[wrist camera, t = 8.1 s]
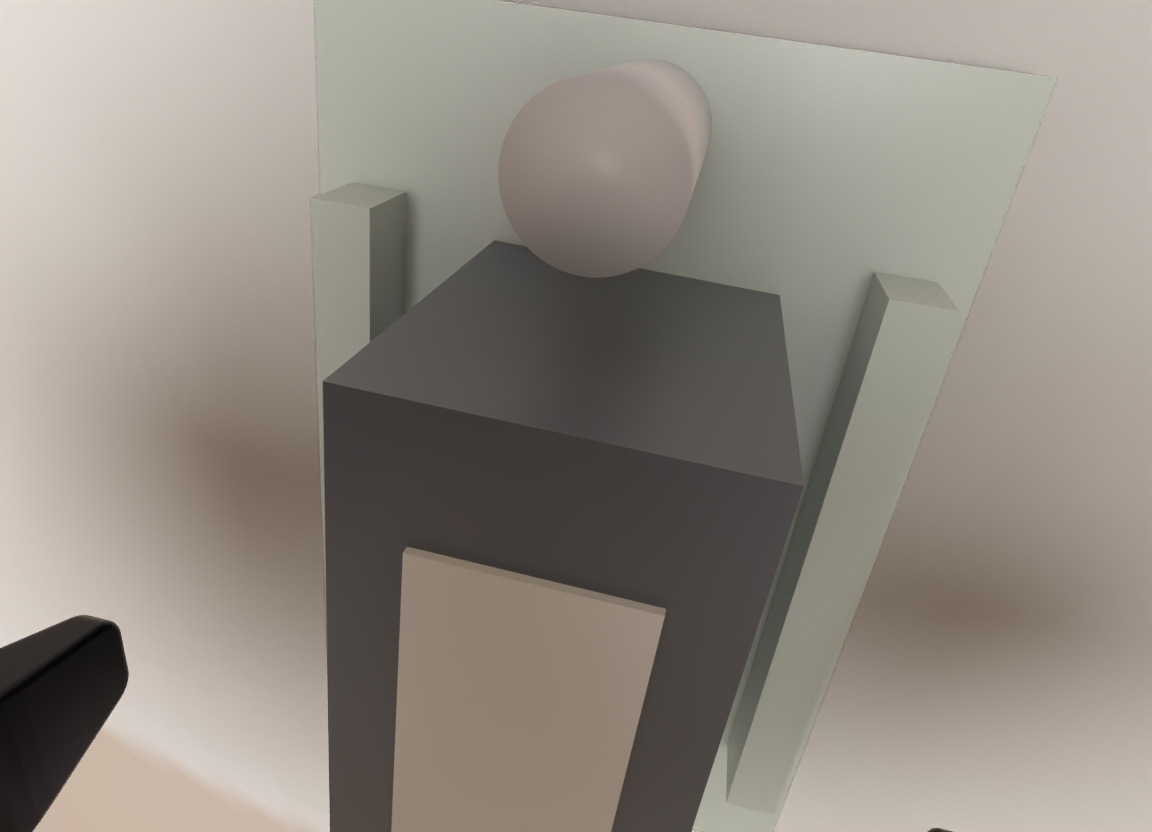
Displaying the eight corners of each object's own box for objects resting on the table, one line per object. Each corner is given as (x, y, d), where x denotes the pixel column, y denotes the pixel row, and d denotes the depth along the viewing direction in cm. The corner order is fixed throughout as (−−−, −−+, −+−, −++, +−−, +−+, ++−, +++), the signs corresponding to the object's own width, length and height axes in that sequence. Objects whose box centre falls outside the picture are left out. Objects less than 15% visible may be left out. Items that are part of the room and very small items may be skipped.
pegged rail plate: (1029, 73, 10) (1267, 107, 5) (765, 804, 16) (772, 1095, 12) (348, -20, 11) (71, -59, 6) (357, 700, 17) (222, 930, 13)
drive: (779, 294, 10) (804, 492, 6) (666, 711, 14) (629, 1027, 10) (493, 240, 11) (316, 385, 6) (456, 658, 15) (328, 935, 10)
